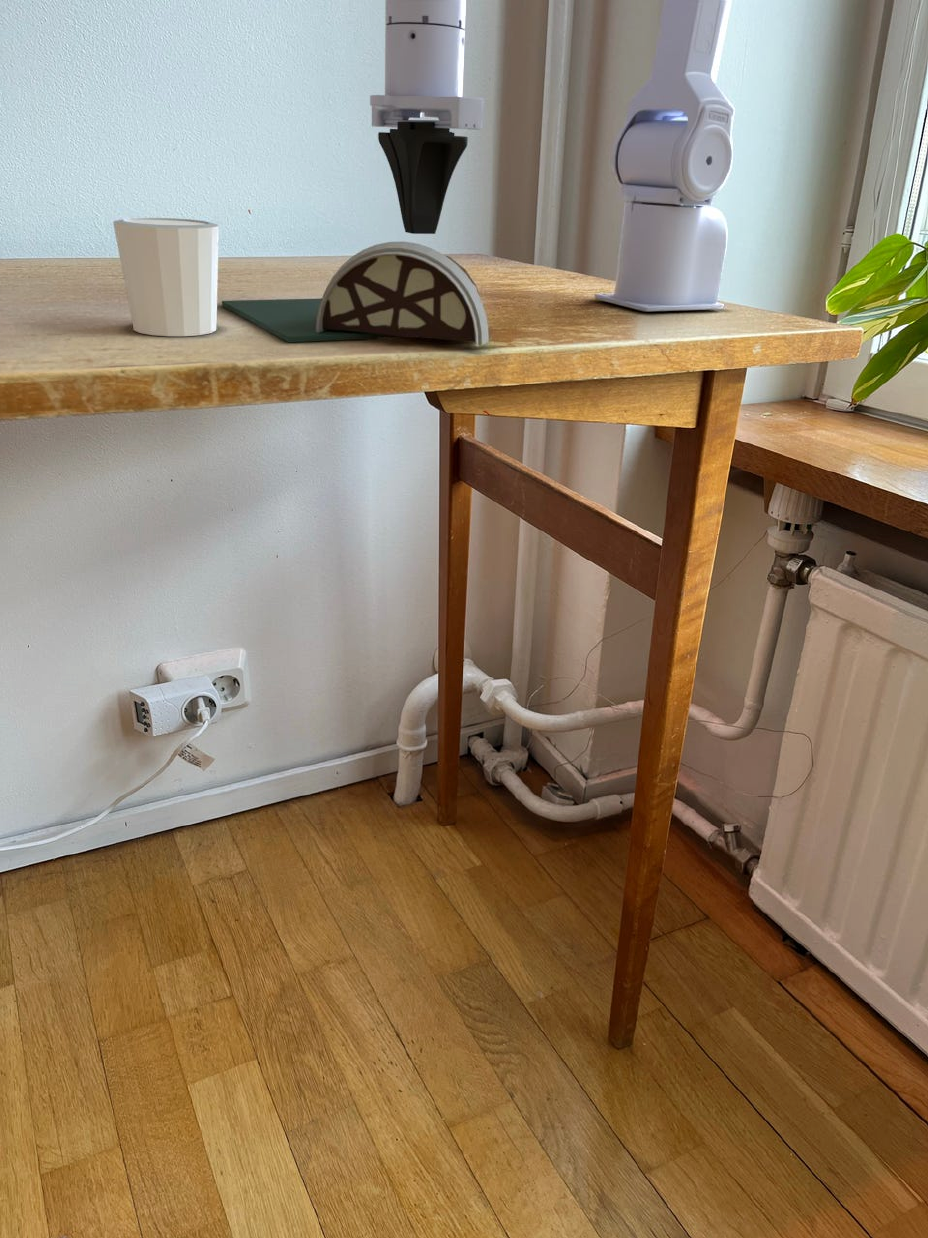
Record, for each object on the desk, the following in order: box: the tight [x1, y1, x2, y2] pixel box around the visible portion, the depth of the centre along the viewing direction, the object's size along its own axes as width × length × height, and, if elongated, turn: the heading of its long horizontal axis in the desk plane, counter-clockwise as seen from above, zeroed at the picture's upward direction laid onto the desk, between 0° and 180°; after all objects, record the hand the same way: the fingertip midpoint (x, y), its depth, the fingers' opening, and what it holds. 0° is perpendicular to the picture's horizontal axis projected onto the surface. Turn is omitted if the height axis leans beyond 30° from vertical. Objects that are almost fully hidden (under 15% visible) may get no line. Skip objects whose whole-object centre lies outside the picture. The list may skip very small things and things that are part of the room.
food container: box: [316, 241, 490, 347], centre depth 68 cm, size 12×6×10 cm
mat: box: [221, 297, 405, 343], centre depth 73 cm, size 12×16×1 cm
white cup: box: [112, 217, 220, 337], centre depth 65 cm, size 7×7×7 cm
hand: (420, 233), depth 74 cm, fingers closed
